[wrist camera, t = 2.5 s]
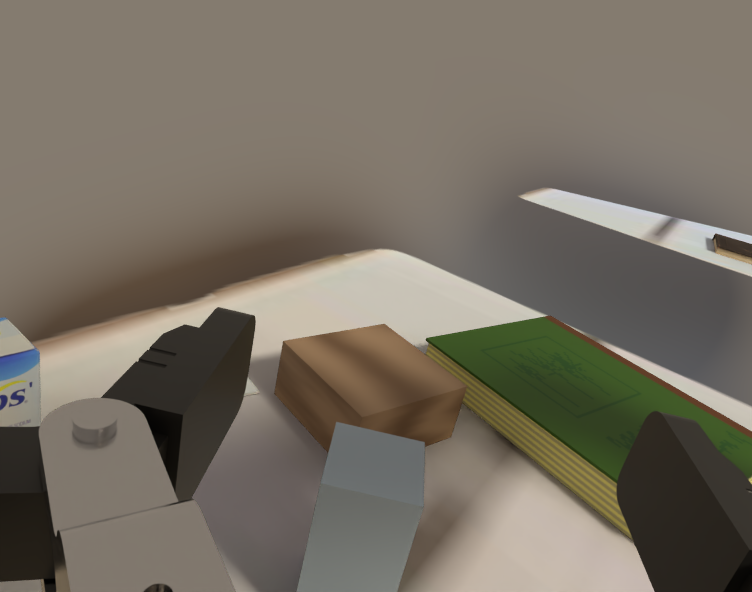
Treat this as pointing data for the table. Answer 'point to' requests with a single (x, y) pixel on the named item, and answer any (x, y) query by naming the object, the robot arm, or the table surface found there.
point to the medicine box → (18, 379)
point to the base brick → (367, 385)
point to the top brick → (364, 512)
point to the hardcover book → (572, 403)
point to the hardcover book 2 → (733, 248)
